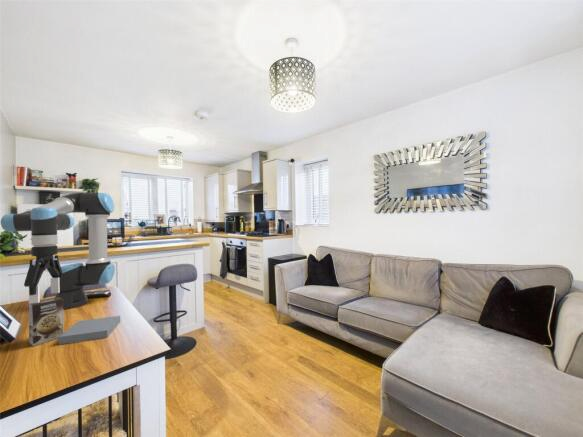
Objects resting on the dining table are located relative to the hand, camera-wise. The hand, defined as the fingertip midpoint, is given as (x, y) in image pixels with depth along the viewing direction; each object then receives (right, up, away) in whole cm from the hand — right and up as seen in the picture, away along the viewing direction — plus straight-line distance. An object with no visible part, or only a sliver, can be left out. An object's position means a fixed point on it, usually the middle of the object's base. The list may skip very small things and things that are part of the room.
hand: (45, 297), depth 100 cm
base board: (+14, -17, +6) cm, 23 cm away
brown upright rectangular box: (0, -18, 0) cm, 18 cm away
